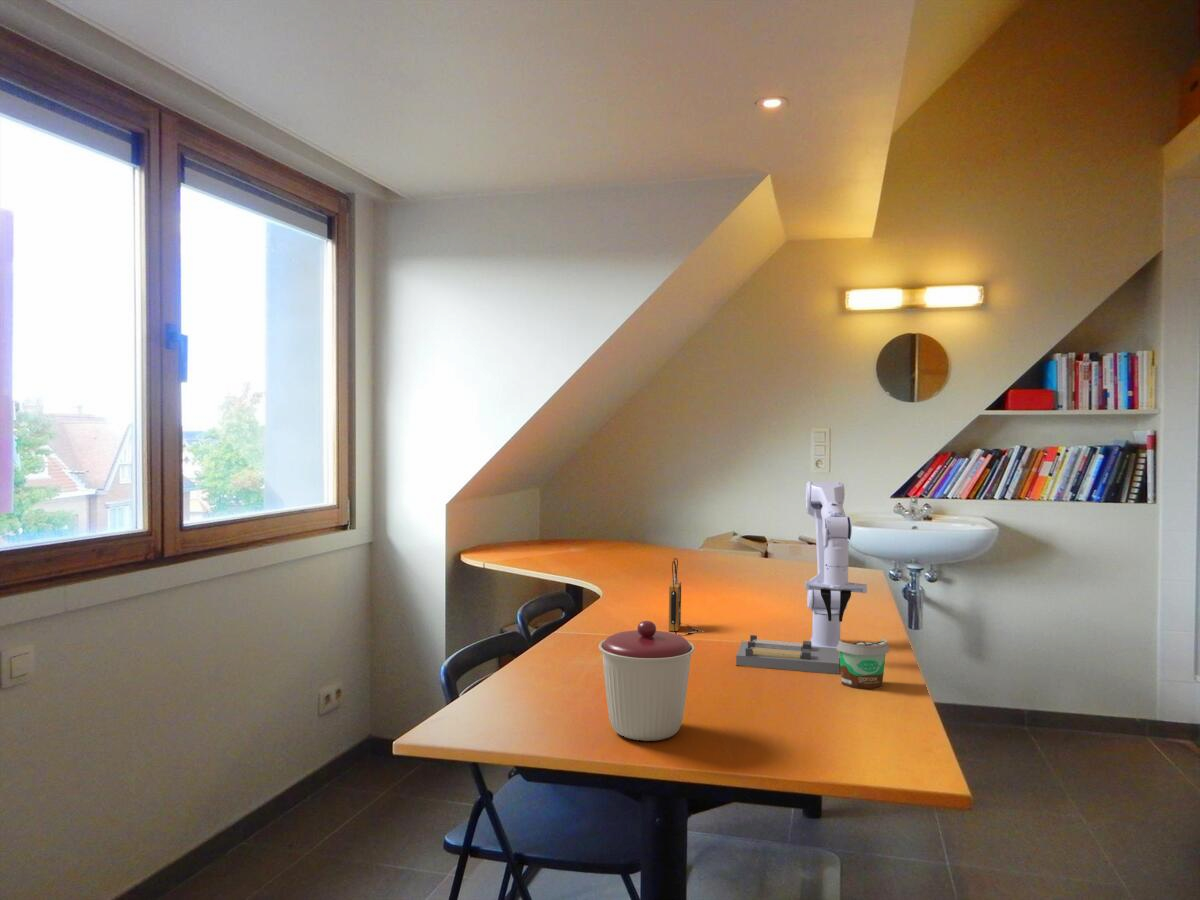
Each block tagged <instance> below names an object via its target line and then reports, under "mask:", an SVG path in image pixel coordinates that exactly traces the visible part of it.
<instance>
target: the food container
mask: <svg viewBox="0 0 1200 900" xmlns="http://www.w3.org/2000/svg"><path fill="white" fill-rule="evenodd" d="M841 641H842V640H841ZM841 641H839V644H837V649H836V650H838V651H839V670H840V677H841V678H840V679H841V681H840V682H841V685H842V686H844V687H848V688H849V689H857V690H867V691H870V690H872V691H873V690H877V689H880V688H882V686H883V682H884V681H883V680H884V672H885V671H884V670H885V664H886V656H887V655H886V654H888V653H889V652H890V648H889V644H888V641H887V639H886V638H884V637H882V638H881V641H873V642H871V641H857V642H853V643H848V642H843V641H842V642H841Z"/></svg>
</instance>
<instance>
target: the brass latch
mask: <svg viewBox="0 0 1200 900" xmlns="http://www.w3.org/2000/svg"><path fill="white" fill-rule="evenodd" d="M750 648H753V655H758V656H769V657H781V658H792V659H800V656H801V651H792V650H780V649H768V648H757V647H750Z"/></svg>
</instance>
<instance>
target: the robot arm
mask: <svg viewBox="0 0 1200 900" xmlns="http://www.w3.org/2000/svg"><path fill="white" fill-rule="evenodd" d="M845 491H846V490H845V485H844V483H843V482H842V481H837V482H836V481H811V480H808V481H807V482H806V484H805V507H806V508H805V509H806V511H807V512H806V513H807V514H808V515H810V516H811V517H813V520H814V524H815V538H816V539H815V543H816V545H815V546H816V565H817V567H816V568H817V574H816V575H815V576H813V577H812V578H810V579H809V580H805V583H804V584H805V586H804V587H805V589H804V590H805V591H807V592H806V601H807V602H806V603H807V604H806V605H807V608H808V609H809V610H810V611H812V621H811V622H812V625H811V626H812V630H811V632H812V633H811V637H810V641H811V646H812V647H826V648H837V644H839V641H841V642H843V641H842V639H841V626H842V625H841V622H843V617H844V615H845V614H844V613H845V611H846V610H847V607H848V603H849V601H850V599H851V597H852V593H862V594H867V593H868V585H867V583H855V582H849V552H850V551H849V547H850V545H849V543H850V542H849V541H850V540H851V537H852V530H853V529H852V528H853V525H852V519H851V516H849V515H846V512H845V510H844V509H845V508H844V507H843V505H844V502H845V494H846V493H845Z"/></svg>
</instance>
